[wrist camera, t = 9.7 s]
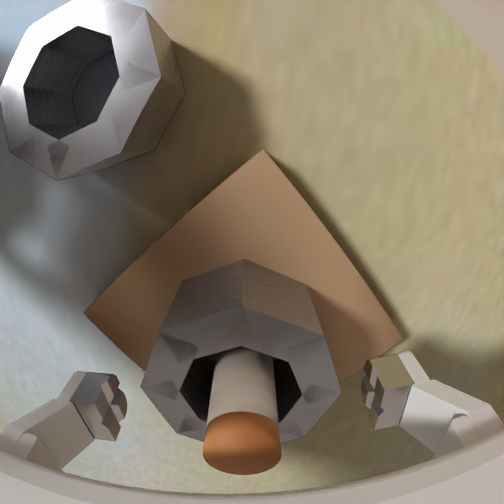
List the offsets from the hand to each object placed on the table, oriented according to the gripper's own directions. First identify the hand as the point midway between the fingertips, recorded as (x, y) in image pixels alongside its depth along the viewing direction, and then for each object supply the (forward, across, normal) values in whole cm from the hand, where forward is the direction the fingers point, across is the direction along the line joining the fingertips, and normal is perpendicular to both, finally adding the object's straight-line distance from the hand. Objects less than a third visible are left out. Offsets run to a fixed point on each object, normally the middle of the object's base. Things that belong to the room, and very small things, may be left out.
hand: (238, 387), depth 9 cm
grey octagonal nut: (+3, 0, 0) cm, 3 cm away
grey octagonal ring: (+5, +4, -10) cm, 12 cm away
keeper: (+5, 0, 0) cm, 5 cm away
